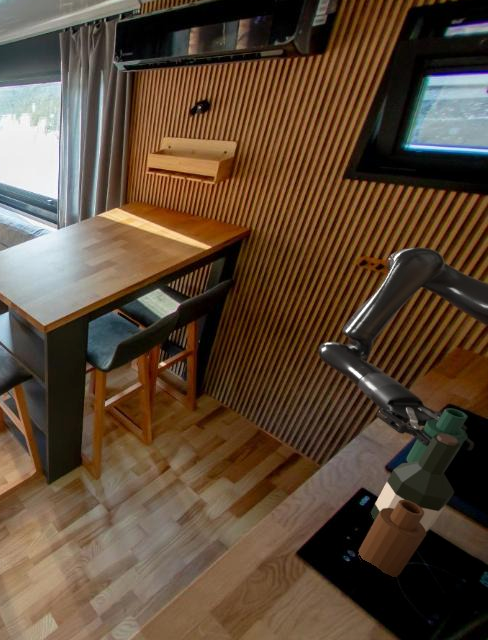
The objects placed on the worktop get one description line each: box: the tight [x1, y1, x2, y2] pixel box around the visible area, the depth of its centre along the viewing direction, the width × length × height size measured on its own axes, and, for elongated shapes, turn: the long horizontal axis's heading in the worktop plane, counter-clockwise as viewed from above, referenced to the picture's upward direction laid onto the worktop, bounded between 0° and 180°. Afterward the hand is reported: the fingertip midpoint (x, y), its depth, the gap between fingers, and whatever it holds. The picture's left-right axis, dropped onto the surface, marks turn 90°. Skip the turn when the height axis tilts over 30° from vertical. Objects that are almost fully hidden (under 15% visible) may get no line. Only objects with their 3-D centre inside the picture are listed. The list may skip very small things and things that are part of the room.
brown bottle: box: [358, 500, 427, 578], centre depth 76 cm, size 6×6×20 cm
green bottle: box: [406, 407, 468, 473], centre depth 84 cm, size 6×6×18 cm
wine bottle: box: [370, 433, 461, 535], centre depth 79 cm, size 8×8×30 cm
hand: (452, 446), depth 82 cm, fingers closed on green bottle, 5 cm apart
